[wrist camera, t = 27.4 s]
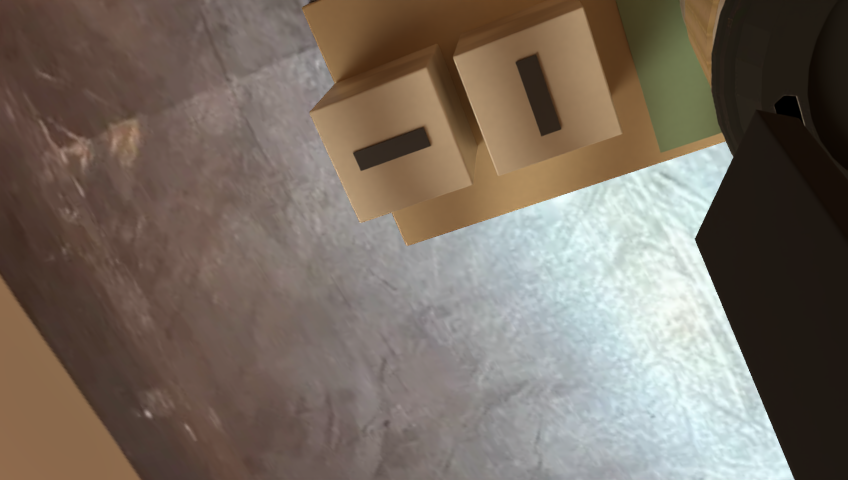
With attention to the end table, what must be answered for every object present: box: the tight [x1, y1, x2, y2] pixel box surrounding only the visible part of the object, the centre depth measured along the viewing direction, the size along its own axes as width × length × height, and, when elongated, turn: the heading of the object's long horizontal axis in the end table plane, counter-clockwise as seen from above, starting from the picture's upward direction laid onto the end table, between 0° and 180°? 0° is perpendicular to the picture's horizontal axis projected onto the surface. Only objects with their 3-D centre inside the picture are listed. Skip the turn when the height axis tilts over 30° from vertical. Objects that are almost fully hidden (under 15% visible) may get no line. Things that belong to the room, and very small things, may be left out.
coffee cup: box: [680, 0, 848, 180], centre depth 25 cm, size 10×10×15 cm
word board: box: [302, 0, 726, 246], centre depth 31 cm, size 24×12×6 cm, turn 112°
